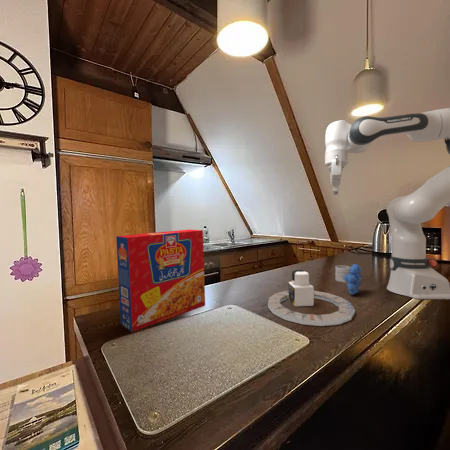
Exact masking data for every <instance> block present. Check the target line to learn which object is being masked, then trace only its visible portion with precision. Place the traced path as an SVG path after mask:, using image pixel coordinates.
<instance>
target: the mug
mask: <svg viewBox="0 0 450 450" xmlns="http://www.w3.org/2000/svg"><path fill="white" fill-rule="evenodd" d="M350 268H351V266H349V265H340V264H337V265H335V275H334V276H335V277H334V278H335V281H336V282H339V283H346V284H348V282H346V281H345V280H344V278H343V277H344V276H345V275H346V274H349V273H350V272H349V269H350Z"/></svg>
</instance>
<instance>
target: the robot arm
mask: <svg viewBox="0 0 450 450" xmlns="http://www.w3.org/2000/svg"><path fill="white" fill-rule="evenodd" d="M398 134H406V136H407V137H408V139H409V140H411V141H413V142H417V143H420V142H421V143H423V142H425V143H426V142H432V141H437V140H443V139H444V144H445V147H446V152H447V153H448V155H450V107H446V108H439V109H434V110H430V111H429V110H428V111H424V112H423V111H422V112H419V113H416V112H415V113H407V114H400V115H393V116H392V115H391V116H386V117H376V116H372V115H369V116H367V115H366V116H365V115H364V116H362V117H359V118H357V119H355V120H354V122H353V123H352V124H351V123H349V122H347V121H346V120H345V119H339V120H335V121H333V122H331V123H329V125H328V126H327V128H326V130H325V137H324V138H325V139H324V146H325V153H324V166H325V167H327V169H328V171H329V176H330V177H329V179H330V185H331V187H332V189H333V195H335V196H337V195H338V194H339V189H340V188H339V187H340V186H341V180H342V176H343V175H342V174H343V173H342V172H343V170H344V169H345V166H347V164H348V163H349V153H353V154H354V153H355V154H359V153H363V152H365V151H367V149H369V147H370V146H371V145H372V143H373V142H374V141H376V140H377V139H378V138H380V137H384V136H390V135H391V136H392V135H398ZM449 203H450V165H449V166H447V167H446V168H444V169H443V170H441V171H440V172H438V173H437V174H435V175H433V176H432V177H430V178H429V179H427V180H426V181H425V182H424V183H423V184H422V185H421V186H419V188H417V189H416V190H415V191H413V192H412V193H410V194H407V195H401V196H397V197H395V198H393V199H392V200H390V201H389V202H388V204H387V206H386V214H387V216H388V221H389V227H390V233H391V255H390V260H389V267H390V275H389V278H388V279H389V280H388V284H387V285H386V290H388V291H389V292H392V293H395V294H398V295H402V296H405V297H410V298H412V299H416V300H450V282H449V280H448V279H447V278H446V277H445V276H444V275H442V274H441V273H439V272H438V271H436V270H435V269H433V267H436V266H437V265H438V262H437V260H434V259H429V258H428V257H426V256H427V254H426V253H427V250H426V249H427V238H426V235H425V234H424V231H423V228H422V223H426V222H429V221H431V220H433V218H435V216H437V213H439V212H440V211H441V210H442V209H443V208H444V207H445V206H446V205H448V204H449Z"/></svg>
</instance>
